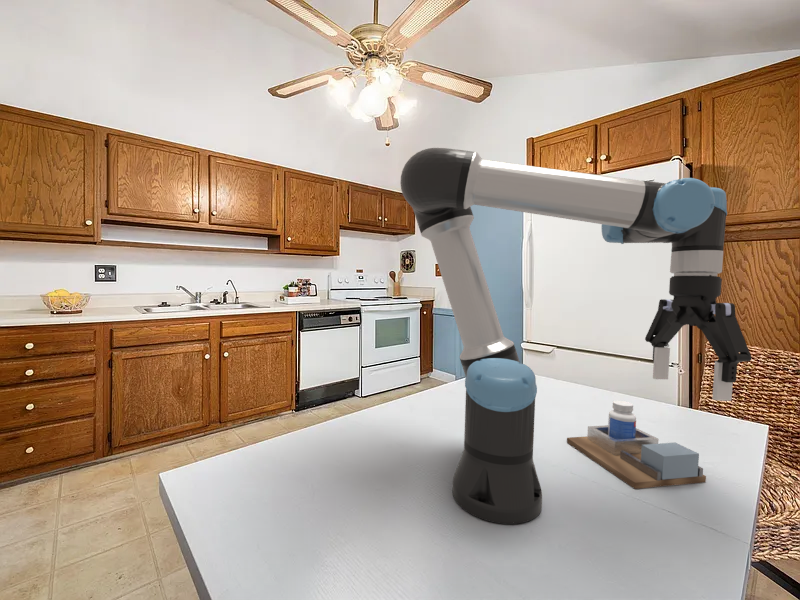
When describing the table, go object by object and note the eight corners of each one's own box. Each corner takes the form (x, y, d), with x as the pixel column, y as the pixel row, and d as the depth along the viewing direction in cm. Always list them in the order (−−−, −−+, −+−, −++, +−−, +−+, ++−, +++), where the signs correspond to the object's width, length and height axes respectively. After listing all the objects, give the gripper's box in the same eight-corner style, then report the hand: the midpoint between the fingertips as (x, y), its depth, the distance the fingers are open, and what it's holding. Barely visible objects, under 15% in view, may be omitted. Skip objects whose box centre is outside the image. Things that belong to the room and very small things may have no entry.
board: (634, 488, 69) (635, 482, 69) (566, 442, 88) (567, 437, 88) (705, 482, 72) (706, 476, 72) (624, 438, 91) (624, 434, 91)
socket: (614, 455, 79) (615, 441, 79) (587, 438, 88) (587, 426, 88) (657, 452, 82) (658, 438, 81) (627, 436, 90) (627, 424, 90)
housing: (662, 479, 70) (663, 456, 69) (640, 466, 75) (641, 444, 74) (697, 476, 71) (699, 453, 71) (673, 463, 76) (675, 442, 76)
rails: (657, 480, 69) (657, 472, 69) (620, 458, 78) (620, 450, 78) (702, 476, 71) (703, 468, 71) (661, 454, 80) (662, 447, 80)
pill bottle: (639, 451, 81) (641, 408, 81) (612, 449, 83) (614, 405, 82) (629, 441, 87) (631, 400, 86) (604, 439, 88) (606, 398, 87)
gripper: (789, 274, 56) (778, 411, 57) (662, 276, 81) (656, 372, 82) (742, 273, 56) (733, 411, 57) (629, 275, 80) (624, 371, 81)
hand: (688, 388), depth 69 cm, fingers open, 13 cm apart
